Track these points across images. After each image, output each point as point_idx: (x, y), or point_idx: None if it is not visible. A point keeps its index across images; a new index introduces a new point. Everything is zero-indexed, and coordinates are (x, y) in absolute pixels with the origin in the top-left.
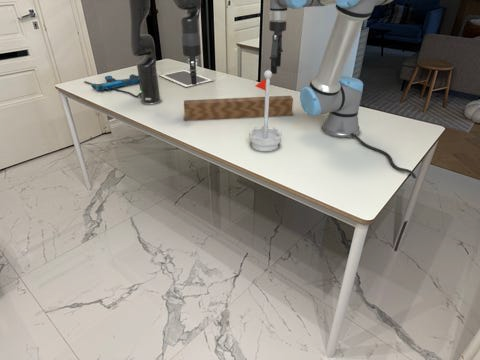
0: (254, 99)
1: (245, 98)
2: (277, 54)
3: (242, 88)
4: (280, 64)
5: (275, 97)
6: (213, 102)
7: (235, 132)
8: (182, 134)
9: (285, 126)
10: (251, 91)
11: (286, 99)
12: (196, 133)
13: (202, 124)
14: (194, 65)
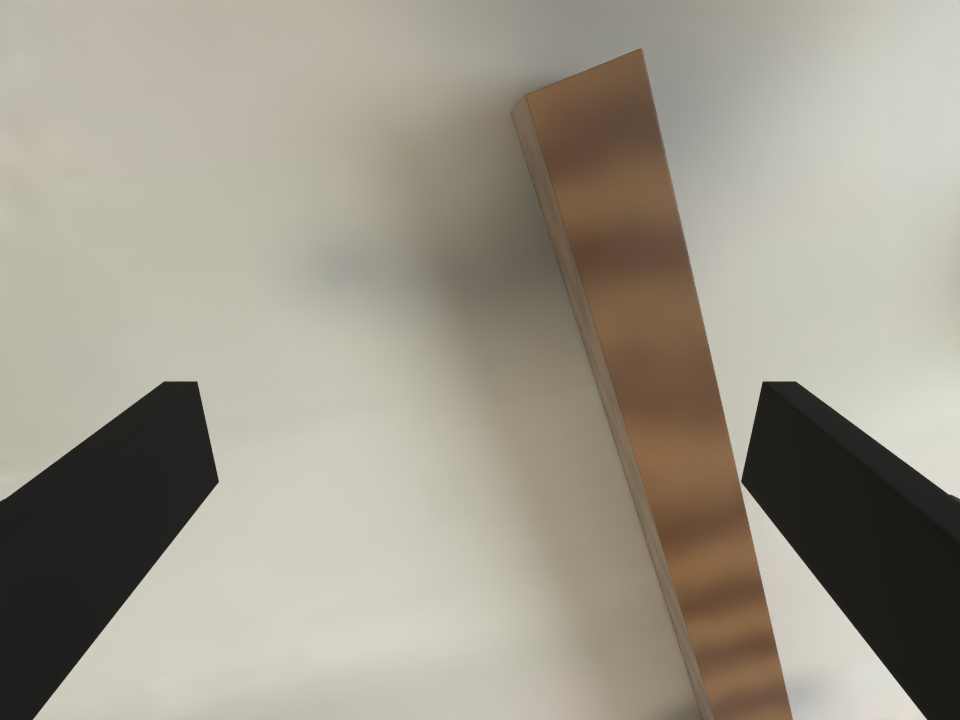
0: (705, 460)
1: (685, 533)
2: (21, 652)
3: None
4: (149, 398)
5: (625, 273)
6: (789, 708)
7: (939, 448)
8: None
9: (851, 109)
10: None
11: (659, 137)
12: None
13: (809, 636)
14: None
